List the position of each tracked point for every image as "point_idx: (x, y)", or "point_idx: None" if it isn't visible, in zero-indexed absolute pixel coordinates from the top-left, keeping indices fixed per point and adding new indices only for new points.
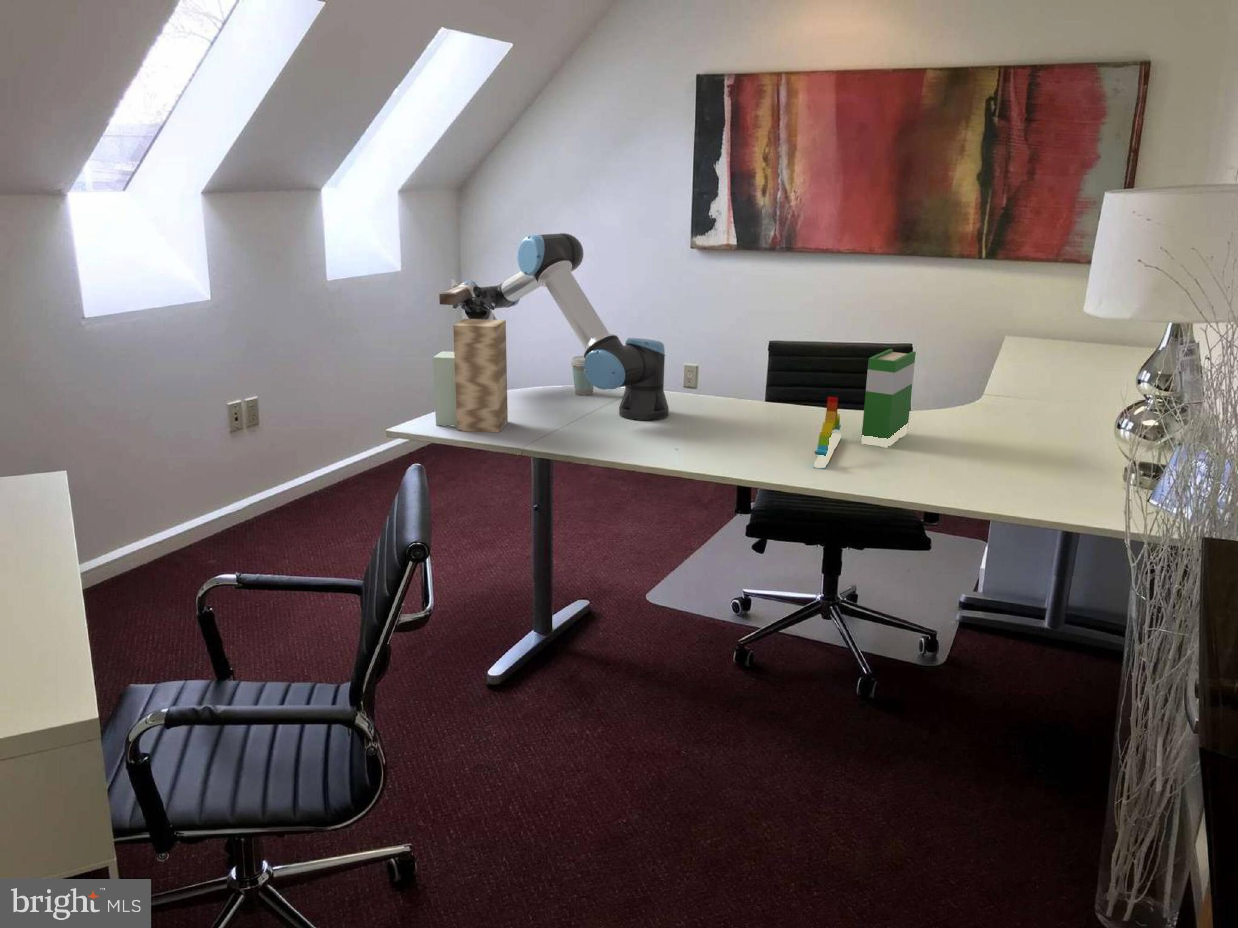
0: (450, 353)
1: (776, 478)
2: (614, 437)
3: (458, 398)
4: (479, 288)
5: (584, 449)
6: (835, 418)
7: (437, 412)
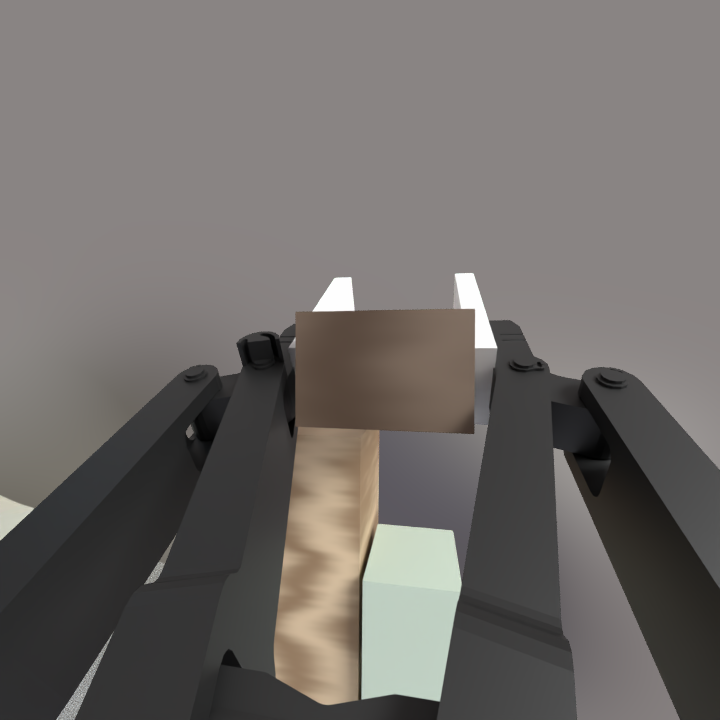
0: (415, 565)
1: (15, 506)
2: None
3: None
4: (256, 347)
5: (151, 575)
6: None
7: None
